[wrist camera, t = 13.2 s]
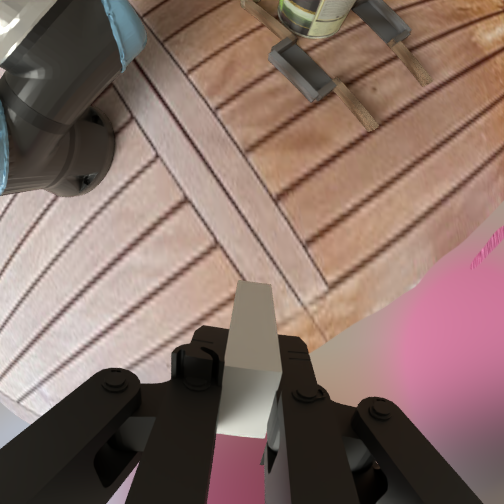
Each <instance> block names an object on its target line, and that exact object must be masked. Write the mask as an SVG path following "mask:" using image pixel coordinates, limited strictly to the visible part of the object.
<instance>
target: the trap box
mask: <svg viewBox="0 0 504 504" xmlns="http://www.w3.org/2000/svg"><path fill="white" fill-rule="evenodd" d="M240 1H241V7H242V8H244V9H245V10H246V11H247V12H249V13H250V14H251V15H253V16H254V17H255V18H256V19H258V20H259V21H260V22H261V23H262V24H264V25H265V26H266V27H267V28H268V29H270V30H271V31H272V32H273V33H274V34H275V35H277V36H278V37H279V38H280V39H281V40H282V41H280V42H279V43H278V44H276V45H275V46H273V47H272V49H271V52H270V53H269V57H268V60H269V61H270V62H271V63H272V64H273V65H274V66H275V67H276V68H277V69H278V70H279V71H280V72H281V73H282V74H283V75H284V76H285V77H286V78H287V79H288V80H289V81H290V82H291V83H292V84H293V85H294V86H295V87H296V88H297V89H298V90H299V91H300V92H301V93H302V94H303V95H304V96H305V97H306V98H307V99H308V100H309V101H310V102H313V101H314V100H315V99H316V100H317V101H319V100H321V99H322V98H323V97H325V96H326V95H327V94H328V93H330V92H331V91H332V90H333V91H334V92H335V93H336V94H337V96H338V97H339V98H340V99H341V100H342V101H343V102H344V103H345V105H346V106H347V107H348V108H349V109H350V110H351V112H352V113H353V114H354V115H355V116H356V117H357V119H358V120H359V121H360V122H361V123H362V125H363V126H364V127H365V128H366V130H367V131H368V132H369V131H372V130H375V129H376V128H377V127H378V126H379V125H378V124H377V122H376V121H375V120H374V119H373V117H372V116H371V115H370V114H369V112H368V111H367V110H366V109H365V108H364V106H363V105H362V104H361V103H360V102H359V100H358V99H357V98H356V97H355V96H354V95H353V94H352V92H351V91H350V90H349V89H348V88H347V87H346V86H345V85H344V84H343V82H342V81H341V80H340V79H339V78H338V77H336V78H334V79H333V80H332V79H331V78H330V77H329V76H328V75H327V74H326V73H325V72H324V71H323V70H322V69H321V68H320V67H319V66H318V65H317V64H316V63H315V62H314V61H313V60H312V59H311V58H310V57H309V56H308V55H307V54H306V53H305V52H304V51H303V50H302V49H301V48H299V47H298V46H297V45H296V41H297V37H296V36H295V35H294V34H293V33H291V32H290V31H289V30H288V29H287V28H286V27H285V26H283V25H282V24H281V23H280V22H279V21H277V20H276V19H275V18H274V17H273V16H271V15H270V14H269V13H268V12H266V11H265V10H264V9H263V8H261V7H260V6H259V5H257V4H256V3H257V2H259V1H260V0H240ZM351 10H353V11H354V12H355V13H356V14H357V15H358V16H359V17H360V18H361V19H362V20H363V21H364V22H365V23H366V24H367V25H368V26H370V27H371V28H372V29H373V30H374V31H375V32H376V34H377V35H378V36H379V37H380V38H381V39H382V40H383V41H384V42H385V43H386V44H387V45H388V46H389V47H390V48H391V49H392V51H393V52H394V53H395V54H396V55H397V56H398V57H399V58H400V60H401V61H402V62H403V63H404V64H405V66H406V67H407V68H408V69H409V70H410V72H411V73H412V74H413V75H414V77H415V78H416V79H417V80H418V82H419V83H420V84H421V86H422V87H423V86H425V85H427V84H430V83H431V82H432V81H433V80H432V78H431V77H430V76H429V74H428V73H427V72H426V70H425V69H424V68H423V67H422V65H421V64H420V63H419V62H418V61H417V59H416V58H415V57H414V56H413V55H412V53H411V52H410V51H409V50H408V49H407V48H406V46H405V45H404V44H403V43H402V42H401V41H403V40H404V39H406V38H407V37H408V36H409V35H410V33H409V32H410V31H411V28H410V27H409V26H408V25H407V24H406V23H405V22H404V21H403V20H402V19H401V18H400V17H399V16H398V15H397V14H396V13H395V12H394V11H393V10H392V9H391V8H390V7H389V6H388V5H387V4H386V3H385V2H384V1H383V0H356V1H355V3H354V4H353V6H352V8H351Z"/></svg>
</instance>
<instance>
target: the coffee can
mask: <svg viewBox="0 0 504 504" xmlns="http://www.w3.org/2000/svg"><path fill="white" fill-rule="evenodd" d="M355 1H356V0H279V5H278V16H279V19H280V21H281V22H282V24H283V25H284V26H285V27H286V28H287V29H288V30H289V31H291V32H293V33H294V34H296V35H299V36H301V37H305V38H309V39H323V38H327V37H330V36H332V35H334V34H335V33H336V32H337V31H338V30H339V29H340V27H341V24H342V23H343V21H344V19H345V18H346V16H347V14H348V13H349V11H350V9H351V8H352V6H353V4H354V3H355Z"/></svg>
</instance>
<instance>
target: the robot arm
mask: <svg viewBox="0 0 504 504" xmlns="http://www.w3.org/2000/svg"><path fill="white" fill-rule="evenodd" d="M146 43H147V34H146V30H145V27H144V25H143V23H142V21H141V20H140V18H139V16H138V15H137V13H136V12H135V10H134V9H133V7H132V6H131V4H130V3H129V2H128V0H0V67H1V68H3V69H5V70H6V71H5V73H4V74H3V76H2V77H1V79H0V196H3V195H8V194H14V193H20V192H26V191H32V190H39V189H44V190H46V191H48V192H50V193H53V194H55V195H57V196H61V197H74V196H80V195H83V194H86V193H88V192H90V191H91V190H93V189H94V188H95V187H96V186H97V185H98V184H99V183H100V182H101V181H102V180H103V178H104V177H105V175H106V173H107V172H108V170H109V167H110V165H111V162H112V159H113V154H114V145H115V140H114V132H113V128H112V125H111V123H110V121H109V119H108V118H107V116H106V115H105V114H104V113H103V112H102V111H101V110H99V109H98V108H96V107H93V106H91V103H92V102H93V101H94V100H95V99H96V98H97V97H98V96H99V95H100V93H101V92H102V91H103V90H104V89H105V88H106V87H107V86H108V85H109V84H110V83H111V82H112V81H113V80H114V79H115V78H116V77H117V76H118V75H119V74H120V73H123V72H124V71H125V70H126V66H127V65H128V64H129V63H130V62H131V61H132V60H133V59H134V58H135V57H136V56H137V55H138V54H139V53H140V52H141V51H142V50H143V49H144V47H145V46H146ZM308 353H309V352H308V349H307V345H306V344H305V343H304V342H303V341H302V339H301V338H300V337H296V336H287V335H278V334H277V326H276V318H275V311H274V303H273V295H272V288H271V284H263V283H256V282H249V281H242V280H238V283H237V289H236V295H235V300H234V306H233V312H232V318H231V323H230V329H224V328H218V327H211V326H205V325H203V326H201V327H200V328H199V329H197V330H196V331H195V332H194V335H193V337H192V340H191V343H190V344H184V345H181V346H179V347H177V348H175V349H174V351H173V352H172V354H171V380H169V381H167V382H163V383H155V384H140V380H139V379H138V377H137V376H136V375H135V374H134V373H132V372H131V371H129V370H125V369H122V368H108V369H103V370H101V371H99V372H97V373H95V374H94V375H93V376H92V377H90V378H89V379H88V380H87V381H85V382H84V383H83V384H82V385H80V386H79V387H78V388H77V389H75V390H74V391H73V392H71V393H70V394H69V395H68V396H66V397H65V398H64V399H63V400H61V401H60V402H59V403H58V404H56V405H55V406H54V407H53V408H51V409H50V410H49V411H48V412H46V413H45V414H44V415H42V416H41V417H40V418H39V419H37V420H36V421H35V422H34V423H32V424H31V425H30V426H29V427H27V428H26V429H25V430H24V431H22V432H21V433H20V434H19V435H17V436H16V437H15V438H14V439H12V440H11V441H10V442H9V443H7V444H6V445H5V446H3V447H2V448H1V449H0V504H106V503H107V502H108V501H109V499H110V498H111V497H112V496H113V495H114V493H115V492H116V491H117V490H118V488H119V487H120V486H121V484H122V483H123V482H124V481H125V479H126V478H127V477H128V476H129V474H130V473H131V472H132V470H133V469H134V468H135V467H136V465H137V464H138V463H139V465H138V468H137V470H136V473H135V476H134V479H133V482H132V484H131V487H130V490H129V493H128V496H127V499H126V501H125V504H207V498H208V491H209V484H210V475H211V469H212V462H213V455H214V448H215V440H216V433H219V434H226V435H234V436H244V437H254V438H265V435H266V431H267V443H266V447H265V450H264V453H263V456H262V459H261V463H260V465H265V466H264V467H265V468H264V469H265V504H483V503H482V501H481V500H480V499H479V498H478V497H477V496H476V495H475V493H474V492H473V491H472V490H471V489H470V488H469V487H468V486H467V484H466V483H465V482H464V481H463V480H462V479H461V477H460V476H459V475H458V474H457V473H456V472H455V471H454V469H453V468H452V467H451V466H450V465H449V464H448V463H447V461H445V459H444V458H443V457H442V456H441V455H440V453H439V452H438V451H437V450H436V449H435V448H434V447H433V446H432V445H431V443H430V442H429V441H428V440H427V439H426V438H425V436H424V435H423V434H422V433H421V432H420V431H419V430H418V429H417V427H416V426H415V425H414V424H413V423H412V422H411V421H410V420H409V418H407V416H406V415H405V414H404V413H403V412H402V410H401V409H400V408H399V407H398V406H397V405H395V404H394V403H393V402H392V401H389V400H387V399H385V398H380V397H368V398H366V399H363V400H362V401H361V402H360V403H359V404H358V406H357V407H352V406H347V405H343V404H340V403H336V402H334V401H332V400H331V399H330V396H329V394H328V393H327V391H326V390H325V389H324V388H323V387H321V386H320V385H318V384H317V381H316V378H315V374H314V370H313V367H312V363H311V361H310V356H309V354H308ZM139 461H140V462H139ZM376 462H377V463H378V464H377V463H376Z"/></svg>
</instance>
